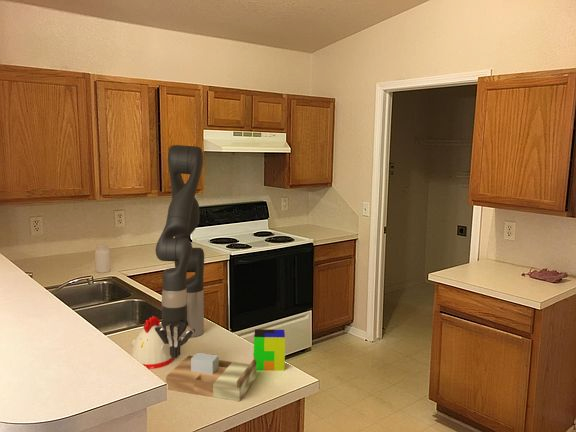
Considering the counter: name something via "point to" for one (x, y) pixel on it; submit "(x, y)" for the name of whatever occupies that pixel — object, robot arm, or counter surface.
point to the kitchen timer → (151, 347)
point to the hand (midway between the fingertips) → (175, 357)
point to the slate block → (204, 363)
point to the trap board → (213, 379)
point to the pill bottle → (102, 259)
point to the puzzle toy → (269, 349)
